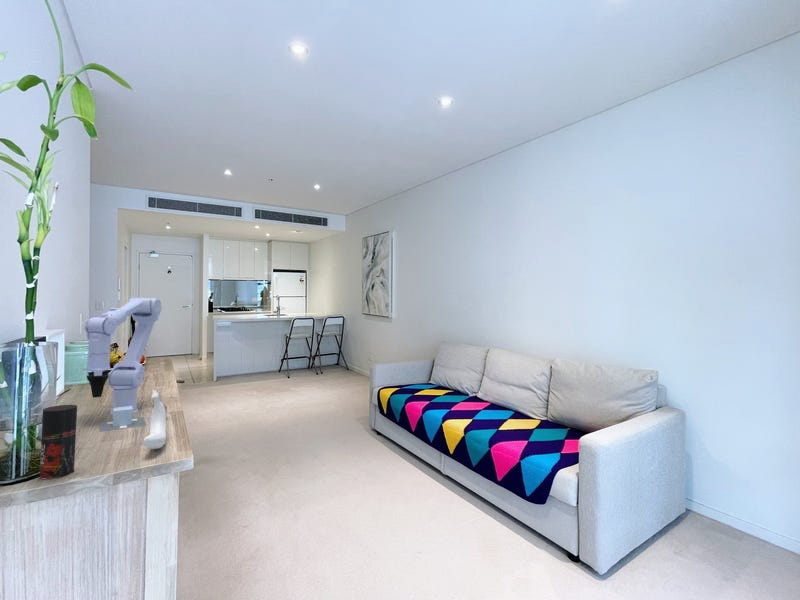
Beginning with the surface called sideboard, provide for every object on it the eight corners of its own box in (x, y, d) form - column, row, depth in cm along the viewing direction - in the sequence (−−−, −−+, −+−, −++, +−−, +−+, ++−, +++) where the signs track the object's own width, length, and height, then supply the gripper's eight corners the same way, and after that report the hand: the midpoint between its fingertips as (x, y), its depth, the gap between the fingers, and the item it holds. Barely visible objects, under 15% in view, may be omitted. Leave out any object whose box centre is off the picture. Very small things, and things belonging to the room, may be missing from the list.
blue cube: (112, 423, 125) (113, 407, 125) (131, 420, 128) (131, 405, 128) (113, 427, 121) (113, 411, 121) (132, 424, 124) (132, 409, 124)
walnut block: (152, 405, 132) (164, 404, 134) (152, 420, 131) (164, 418, 134) (154, 408, 128) (166, 407, 130) (153, 423, 127) (165, 422, 130)
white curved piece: (141, 460, 96) (144, 402, 97) (147, 438, 113) (149, 388, 113) (164, 457, 99) (166, 400, 99) (166, 436, 115) (168, 387, 116)
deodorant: (80, 469, 91) (83, 405, 91) (55, 480, 85) (59, 411, 85) (58, 467, 91) (61, 404, 92) (31, 478, 85) (35, 410, 86)
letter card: (99, 423, 126) (99, 422, 126) (143, 418, 133) (143, 416, 133) (99, 433, 116) (99, 431, 116) (146, 427, 123) (146, 425, 123)
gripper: (84, 352, 130) (82, 392, 129) (82, 356, 118) (80, 400, 118) (110, 351, 134) (108, 390, 134) (111, 355, 123) (109, 397, 122)
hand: (97, 394), depth 126 cm, fingers open, 7 cm apart
